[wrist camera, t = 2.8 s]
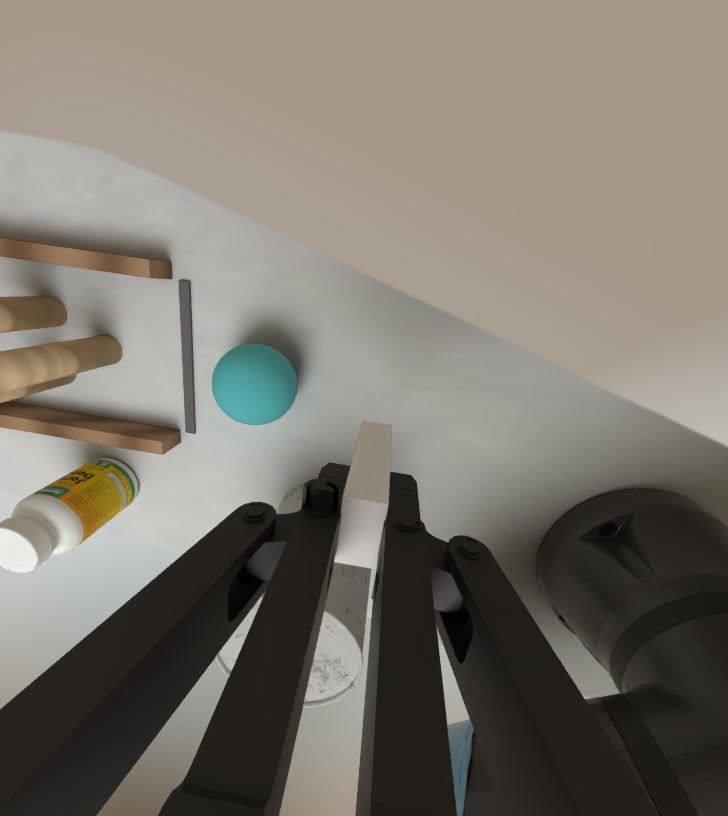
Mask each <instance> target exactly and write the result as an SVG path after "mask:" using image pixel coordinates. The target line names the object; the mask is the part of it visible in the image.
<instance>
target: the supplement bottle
mask: <svg viewBox="0 0 728 816" xmlns="http://www.w3.org/2000/svg"><path fill="white" fill-rule="evenodd" d="M137 492H138V482H137V479H136V477H135V475H134V474H133V472H132V471H131V470H130V469H129V468H128V467H127V466H126V465H125V464H123V463H121V462H119V461H117V460H114V459H110V458H99V459H95V460H93V461H91V462H89V463H87V464H85V465H84V466H82V467H80V468H78V469H77V470H75V471H73V472H71V473H69V474H68V475H66V476H64V477H62V478H61V479H59V480H57V481H55V482H53V483H52V484H50V485H48V486H46V487H44V488H43V489H41V490H39V491H37V492H35V493H34V494H32V495H30V496H28V497H26V498H25V499H23V500H22V501H21V502H19V503H18V504H17V506H16V507H15V509H14V510H13V513H12V517H11V518H8V519H6V520H4V521H2V522H1V523H0V565H1V566H2V567H4V568H6V569H8V570H10V571H14V572H20V573H22V572H29V571H31V570H33V569H35V568H36V567H37V566H38V565H40V564H41V563H42V562H44V561H46V560H47V559H48V558H49V557H50V556H51V555H60V554H64V553H67V552H69V551H71V550H73V549H74V548H76V547H77V546H78V545H79V544H81V543H82V542H83V541H84V540H86V539H87V538H88V537H89V536H90V535H92V534H93V533H94V532H96V531H97V530H98V529H99V528H100V527H102V526H103V525H104V524H106V523H107V522H108V521H109V520H110V519H112V518H113V517H114V516H116V515H117V514H118V513H119V512H121V511H122V510H123V509H124V508H126V507H127V506H128V505H129V504H130V503H132V502H133V501H134V499H135V497H136V495H137Z"/></svg>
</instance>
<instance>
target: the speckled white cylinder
mask: <svg viewBox="0 0 728 816" xmlns="http://www.w3.org/2000/svg"><path fill="white" fill-rule="evenodd" d="M302 494H303V486H301V487H299V488H298V489H296V490H294V491H292V492H291V493H290V494H289V495H288V496H287V497H285V499H284V500H283V502H282V503H281V505H280V506H279V510H278V512H277V514H288V513H293V512H297V511H299V510H301V506H302ZM370 574H371V568H365V567H360V566H354V565H348V564H343V563H337V562H334V565H333V573H332V578H331V583H330V587H329V592H328V596H327V601H326V605H325V610H324V614H323V619H322V623H321V628H320V632H319V637H318V641H317V646H316V650H315V655H314V659H313V664H312V668H311V673H310V677H309V682H308V686H307V691H306V695H305V700H304V704H303V708H308V707H316V706H322V705H326V704H329V703H332V702H335V701H337V700H339V699H340V698H342V697H344V696H345V695H347V694H348V693H349V692H350V691H351V690H352V689H353V688H354V687H355V685H356V683H357V682H358V680H359V678H360V676H361V672H362V665H363V656H362V652H363V642H364V633H365V622H366V613H367V603H368V593H369V584H370ZM264 594H265V592H264V593H263V595H262V596H261V597H260V599H259V600H258V601H257V603H256V604H255V605H254V607H253V608H252V609H251V611H250V612H249V613H248V615H247V616H246V617H245V619H244V620H243V621H242V623H241V624H240V625H239V627H238V628H237V629H236V631H235V632H234V633H233V635H232V636H231V637H230V639H229V640H228V641H227V643H226V644H225V645H224V647H223V648H222V649H221V650H220V652H219V653H218V654H217V656H216V657H215V659H216V661H217V663H218V664H219V666H220V667H221V669H222V671H223V672H224V673H225V674H226V675H227V676H228V677H229V676H230V673H231V671H232V669H233V666H234V664H235V662H236V659H237V657H238V655H239V652H240V650H241V648H242V645H243V643H244V641H245V638H246V636H247V634H248V631H249V629H250V627H251V624H252V622H253V620H254V617H255V615H256V613H257V610H258V608H259V606H260V603H261V601H262V599H263V596H264Z"/></svg>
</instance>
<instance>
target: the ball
mask: <svg viewBox="0 0 728 816" xmlns="http://www.w3.org/2000/svg"><path fill="white" fill-rule="evenodd" d="M212 391H213V395H214V398H215V400H216V402H217V404H218V405H219V407H220V408H221V409H222V411H223V412H224V413H225V414H226V415H228V416H229V417H230V418H232V419H233V420H235V421H238V422H240V423H243V424H248V425H263V424H268V423H271V422H273V421H275V420H277V419H279V418H280V417H282V416H283V415H284V414H285V413H286V412H287V411H288V410H289V409H290V407H291V406H292V404H293V402H294V400H295V397H296V393H297V377H296V373H295V371H294V368H293V366H292V364H291V363H290V361H289V360H288V359H287V358H286V357H285V356H284V355H283V354H282V353H281V352H279V351H278V350H276V349H274V348H272V347H270V346H267V345H263V344H245V345H241V346H238V347H236V348H234V349H232V350H230V351H229V352H227V353H226V354H225V355H224V356H223V357H222V358H221V359H220V360H219V362H218V363H217V365H216V367H215V369H214V372H213V377H212Z"/></svg>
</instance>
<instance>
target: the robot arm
mask: <svg viewBox="0 0 728 816" xmlns="http://www.w3.org/2000/svg"><path fill="white" fill-rule="evenodd" d="M391 435H392V426H391V425H384V424H378V423H372V422H366V421H362V424H361V428H360V432H359V436H358V440H357V443H356V447H355V451H354V455H353V459H352V463H351V466H347V465H341V464H335V463H328V464H327V465H325V466H324V467H323V468H322V470H321V472H320V474H319V477H318V479H314V480H311V481H309V482H307V483H306V484H305V485H304V486H303V494H302V506H301V510H299V511H297V512H293V513H288V514H276V510H275V509H274V508H273V506H271V505H269V504H267V503H262V502H251V503H247V504H244V505H242V506H240V507H239V508H237V509H236V510H235V511H234V512H232V513H231V514H230V515H229V516H228V517H227V518H225V519H224V520H223V521H222V522H221V523H219V524H218V525H217V526H216V527H215V528H214V529H212V530H211V531H210V532H209V533H208V534H207V535H205V536H204V537H203V538H202V539H201V540H199V541H198V542H197V543H196V544H195V545H194V546H192V547H191V548H190V549H189V550H188V551H186V552H185V553H184V554H183V555H182V556H181V557H179V558H178V559H177V560H176V561H175V562H174V563H173V564H171V565H170V566H169V567H168V568H166V569H165V570H164V571H163V572H162V573H161V574H159V575H158V576H157V577H156V578H155V579H153V580H152V581H151V582H150V583H149V584H148V585H147V586H145V587H144V588H143V589H142V590H141V591H140V592H138V593H137V594H136V595H135V596H133V597H132V598H131V599H130V600H129V601H128V602H126V603H125V604H124V605H123V606H122V607H120V608H119V609H118V610H117V611H116V612H115V613H113V614H112V615H111V616H110V617H109V618H108V619H107V620H105V621H104V622H103V623H102V624H100V625H99V626H98V627H97V628H96V629H95V630H93V631H92V632H91V633H90V634H89V635H87V636H86V637H85V638H84V639H83V640H82V641H80V642H79V643H78V644H77V645H76V646H74V647H73V648H72V649H71V650H70V651H69V652H67V653H66V654H65V655H64V656H63V657H62V658H60V659H59V660H58V661H57V662H56V663H54V664H53V665H52V666H51V667H50V668H49V669H47V670H46V671H45V672H44V673H43V674H41V675H40V676H39V677H38V678H37V679H36V680H34V681H33V682H32V683H31V684H30V685H29V686H27V687H26V688H25V689H24V690H23V691H21V692H20V693H19V694H18V695H17V696H16V697H14V698H13V699H12V700H11V701H10V702H9V703H7V704H6V705H5V706H4V707H3V708H2V709H0V816H96V815H97V814H98V813H99V811H100V810H101V809H102V807H103V806H104V804H105V803H106V802H107V801H108V799H109V798H110V797H111V795H112V794H113V793H114V791H115V790H116V789H117V787H118V786H119V785H120V783H121V782H122V780H123V779H124V778H125V776H126V775H127V774H128V773H129V771H130V770H131V769H132V767H133V766H134V765H135V763H136V762H137V761H138V759H139V758H140V757H141V755H142V754H143V753H144V751H145V750H146V749H147V747H148V746H149V745H150V743H151V742H152V741H153V740H154V738H155V737H156V736H157V734H158V733H159V731H160V730H161V729H162V727H163V726H164V725H165V724H166V722H167V721H168V720H169V718H170V717H171V715H172V714H173V713H174V712H175V710H176V709H177V708H178V706H179V705H180V704H181V702H182V700H183V699H184V698H185V697H186V695H187V694H188V693H189V692H190V690H191V689H192V687H193V686H194V685H195V684H196V682H197V681H198V680H199V678H200V677H201V676H202V674H203V673H204V672H205V670H206V669H207V668H208V666H209V665H210V664H211V662H212V661H213V660H214V658H215V657H216V656H217V654H218V653H219V652H220V650H221V649H222V648H223V647H224V645H225V644H226V643H227V641H228V640H229V639H230V637H231V636H232V635H233V633H234V632H235V631H236V629H237V628H238V627H239V625H240V624H241V623H242V621H243V620H244V619H245V617H246V616H247V615H248V613H249V612H250V611H251V609H252V608H253V607H254V605H255V604H256V603H257V601H258V600H259V599H260V597H261V596H262V595H263V593H264V592H265V594H264V596H263V599H262V601H261V603H260V606H259V608H258V610H257V613H256V615H255V617H254V620H253V622H252V624H251V627H250V629H249V631H248V634H247V636H246V638H245V641H244V643H243V645H242V648H241V650H240V652H239V655H238V657H237V659H236V662H235V664H234V666H233V669H232V671H231V673H230V676H229V678H228V680H227V683H226V685H225V688H224V690H223V692H222V695H221V697H220V699H219V702H218V704H217V706H216V709H215V711H214V713H213V716H212V718H211V720H210V723H209V725H208V727H207V730H206V732H205V734H204V737H203V739H202V741H201V744H200V746H199V748H198V751H197V753H196V756H195V758H194V760H193V762H192V765H191V767H190V769H189V771H188V773H187V776H186V777H185V779H184V781H183V782H182V783H181V784H180V785H179V786H178V787H176V789H174V790H173V791H172V792H171V794H170V796H169V797H168V799H167V800H166V802H165V803H164V805H163V807H162V809H161V811H160V813H159V815H158V816H279V812H280V808H281V803H282V798H283V794H284V790H285V785H286V781H287V776H288V772H289V767H290V763H291V758H292V754H293V749H294V745H295V740H296V736H297V731H298V727H299V722H300V718H301V713H302V709H303V704H304V700H305V695H306V691H307V686H308V682H309V677H310V673H311V668H312V664H313V659H314V655H315V650H316V646H317V641H318V637H319V632H320V628H321V623H322V619H323V614H324V610H325V605H326V601H327V596H328V592H329V587H330V583H331V578H332V573H333V565H334V562H337V563H343V564H348V565H354V566H360V567H365V568H371V569H377V571H376V577H375V582H374V587H373V593H372V598H371V599H373V607H372V619H371V632H370V644H369V657H368V669H367V681H366V694H365V707H364V718H363V731H362V742H361V755H360V767H359V779H358V792H357V804H356V816H728V527H727V526H726V525H725V524H724V523H723V522H721V521H720V520H719V519H718V518H716V517H715V516H713V515H712V514H711V513H709V512H708V511H707V510H705V509H704V508H702V507H701V506H700V505H698V504H697V503H695V502H694V501H692V500H690V499H688V498H686V497H683V496H681V495H678V494H675V493H671V492H667V491H663V490H655V489H630V490H622V491H616V492H612V493H608V494H605V495H601V496H599V497H596V498H593V499H591V500H589V501H587V502H585V503H582V504H581V505H579V506H577V507H576V508H574V509H572V510H571V511H569V512H568V513H567V514H565V515H564V516H563V517H562V518H561V519H560V520H559V521H558V522H557V523H555V525H554V526H553V527H552V528H551V529H550V531H549V532H548V533H547V535H546V536H545V538H544V540H543V542H542V544H541V546H540V548H539V551H538V555H537V561H536V573H537V579H538V582H539V585H540V587H541V589H542V591H543V593H544V596H545V598H546V600H547V602H548V604H549V606H550V608H551V609H552V611H553V612H554V614H555V615H556V617H557V618H558V619H559V620H560V621H561V623H562V624H563V625H564V626H565V627H566V628H568V629H569V630H570V631H571V632H572V633H574V634H575V635H576V636H577V637H578V638H579V640H580V641H581V642H582V644H583V645H584V646H585V647H586V649H587V650H588V651H589V652H590V653H591V654H592V655H593V656H594V658H595V659H596V660H597V661H598V662H599V663H600V664H601V665H602V666H603V667H604V668H605V669H606V670H607V671H608V673H609V674H610V676H611V678H612V679H613V681H614V683H615V685H616V686H617V688H618V690H619V692H620V694H615V695H609V696H604V697H595V698H590V699H584V697H583V696H582V694H581V693H580V691H579V690H578V688H577V686H576V685H575V683H574V682H573V680H572V679H571V677H570V676H569V674H568V672H567V671H566V669H565V668H564V666H563V665H562V663H561V662H560V660H559V658H558V657H557V655H556V654H555V652H554V651H553V649H552V647H551V646H550V644H549V643H548V641H547V640H546V638H545V637H544V635H543V633H542V632H541V630H540V629H539V627H538V626H537V624H536V623H535V621H534V619H533V618H532V616H531V615H530V613H529V612H528V610H527V609H526V607H525V605H524V604H523V602H522V601H521V599H520V598H519V596H518V594H517V593H516V591H515V590H514V588H513V587H512V585H511V584H510V582H509V580H508V579H507V577H506V576H505V574H504V573H503V571H502V570H501V568H500V566H499V565H498V563H497V562H496V560H495V559H494V557H493V556H492V554H491V552H490V551H489V550H488V548H487V547H486V546H485V545H484V544H482V543H481V542H479V541H478V540H476V539H474V538H471V537H468V536H454V537H453V538H452V539H450V541H449V543H448V542H445V541H443V540H440V539H438V538H436V537H434V536H432V535H431V534H429V533H428V532H427V531H426V528H425V526H424V523H423V522H422V521H421V520H420V510H419V500H418V492H417V491H418V490H417V482H416V481H415V480H414V478H413V477H412V475H407V474H401V473H395V472H390V459H391ZM436 625H437V628H438V631H439V633H440V636H441V639H442V642H443V645H444V647H445V650H446V653H447V656H448V658H449V661H450V664H451V667H452V670H453V673H454V676H455V678H456V681H457V684H458V687H459V690H460V692H461V695H462V698H463V701H464V704H465V706H466V709H467V712H468V714H469V718H470V719H469V720H466V721H462V722H458V723H454V724H450V725H447V718H446V709H445V700H444V691H443V682H442V674H441V664H440V655H439V646H438V637H437V628H436Z"/></svg>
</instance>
